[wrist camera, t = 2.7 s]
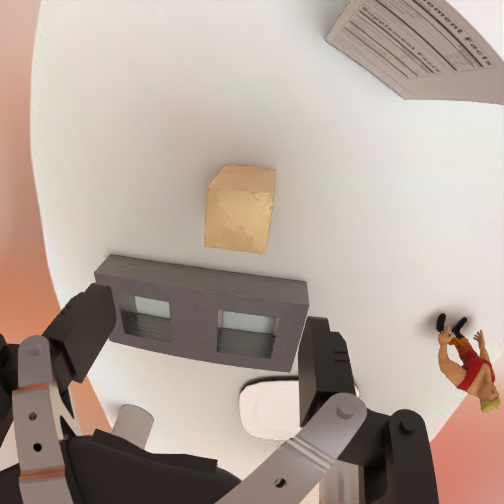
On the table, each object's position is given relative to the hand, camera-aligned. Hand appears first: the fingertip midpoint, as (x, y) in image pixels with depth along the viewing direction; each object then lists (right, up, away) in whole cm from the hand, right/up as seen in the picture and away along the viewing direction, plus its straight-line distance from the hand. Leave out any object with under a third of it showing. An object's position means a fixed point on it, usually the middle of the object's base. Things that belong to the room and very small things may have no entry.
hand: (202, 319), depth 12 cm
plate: (+9, -22, +32) cm, 39 cm away
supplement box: (+14, +22, +8) cm, 27 cm away
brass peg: (+2, +8, +16) cm, 18 cm away
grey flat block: (-4, -3, +23) cm, 23 cm away
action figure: (+28, -7, +22) cm, 36 cm away
